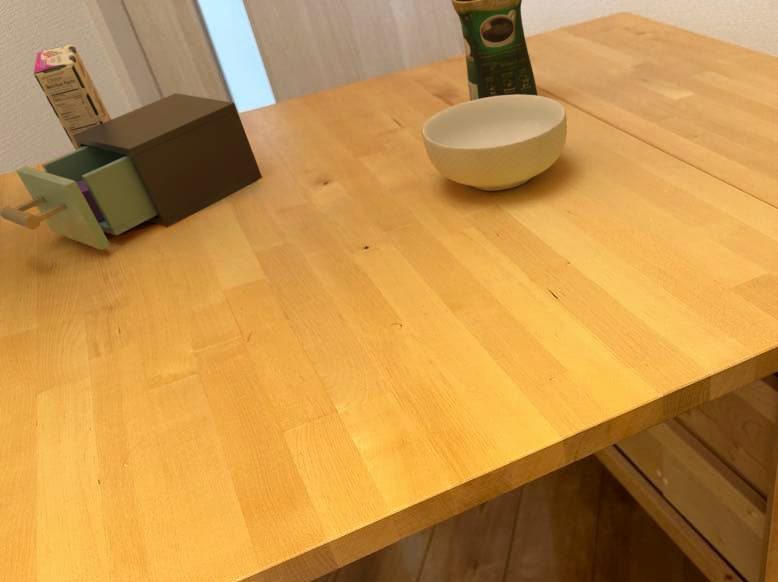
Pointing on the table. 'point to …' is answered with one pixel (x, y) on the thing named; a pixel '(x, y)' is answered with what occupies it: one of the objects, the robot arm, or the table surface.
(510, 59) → the green coffee bag
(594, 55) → the table surface
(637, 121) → the table surface
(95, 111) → the candy bar box
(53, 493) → the table surface
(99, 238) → the light green drawer
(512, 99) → the cereal bowl
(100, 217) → the maroon wooden cube
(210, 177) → the brown drawer cabinet
